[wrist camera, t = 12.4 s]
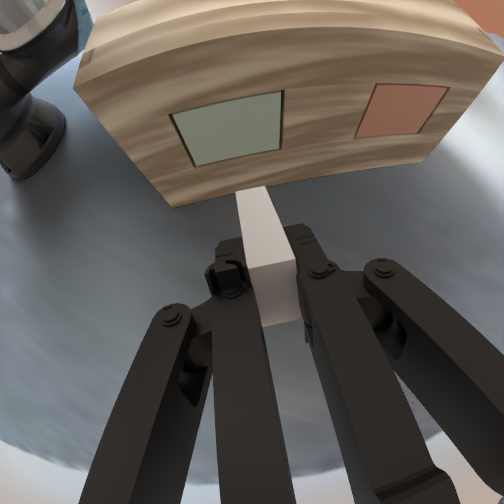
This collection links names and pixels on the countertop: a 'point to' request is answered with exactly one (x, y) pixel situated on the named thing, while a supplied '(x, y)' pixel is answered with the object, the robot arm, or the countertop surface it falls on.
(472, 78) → the block
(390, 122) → the terracotta button
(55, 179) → the countertop surface
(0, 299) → the countertop surface
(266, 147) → the sage button
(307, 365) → the countertop surface
